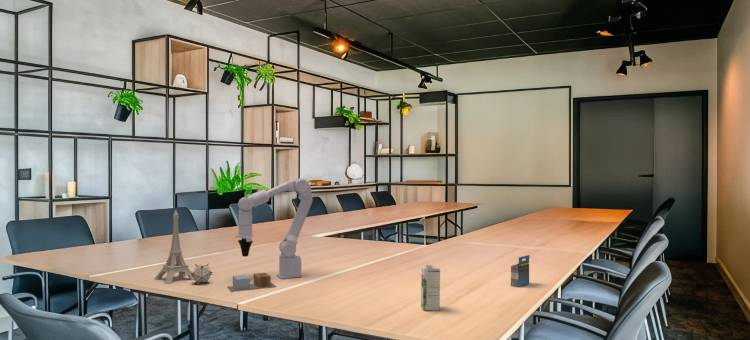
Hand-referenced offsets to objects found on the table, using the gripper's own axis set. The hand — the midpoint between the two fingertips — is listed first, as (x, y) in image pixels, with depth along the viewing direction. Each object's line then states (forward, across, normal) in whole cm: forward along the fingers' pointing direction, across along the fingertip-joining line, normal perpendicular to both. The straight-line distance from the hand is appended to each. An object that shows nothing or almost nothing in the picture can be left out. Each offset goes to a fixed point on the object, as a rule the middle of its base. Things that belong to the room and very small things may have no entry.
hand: (245, 256), depth 220 cm
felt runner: (+10, +16, -1) cm, 19 cm away
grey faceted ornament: (+10, 0, -18) cm, 21 cm away
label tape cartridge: (+10, +61, +100) cm, 118 cm away
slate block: (+8, +11, -5) cm, 14 cm away
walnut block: (+8, +11, +4) cm, 14 cm away
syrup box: (+10, +74, +47) cm, 88 cm away
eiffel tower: (+10, -13, -27) cm, 32 cm away
